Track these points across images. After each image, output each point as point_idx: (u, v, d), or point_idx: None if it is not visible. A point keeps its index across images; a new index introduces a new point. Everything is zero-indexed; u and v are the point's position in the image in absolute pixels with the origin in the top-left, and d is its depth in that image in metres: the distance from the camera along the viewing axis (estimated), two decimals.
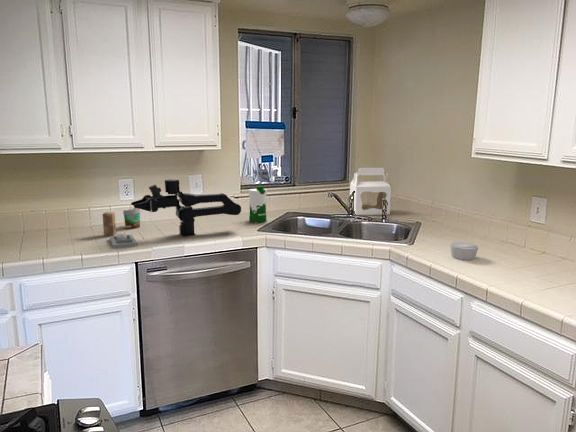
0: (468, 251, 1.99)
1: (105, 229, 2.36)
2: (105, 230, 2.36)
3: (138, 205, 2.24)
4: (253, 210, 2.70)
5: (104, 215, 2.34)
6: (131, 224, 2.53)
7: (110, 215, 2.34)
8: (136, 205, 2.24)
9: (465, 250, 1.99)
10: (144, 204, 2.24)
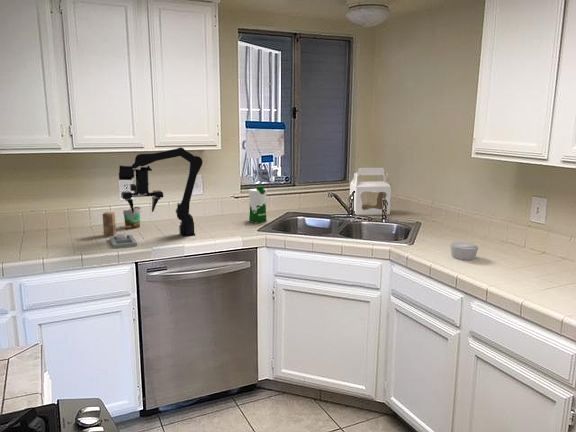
0: (468, 251, 1.99)
1: (105, 229, 2.36)
2: (105, 230, 2.36)
3: (131, 208, 2.32)
4: (253, 210, 2.70)
5: (104, 215, 2.34)
6: (131, 224, 2.53)
7: (110, 215, 2.34)
8: None
9: (465, 250, 1.99)
10: (129, 203, 2.31)
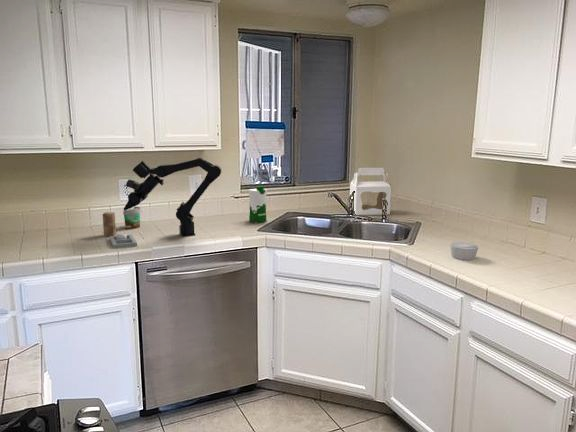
0: (468, 251, 1.99)
1: (105, 229, 2.36)
2: (105, 230, 2.36)
3: (126, 206, 2.31)
4: (253, 210, 2.70)
5: (104, 215, 2.34)
6: (131, 224, 2.53)
7: (110, 215, 2.34)
8: (125, 208, 2.31)
9: (465, 250, 1.99)
10: (129, 202, 2.30)
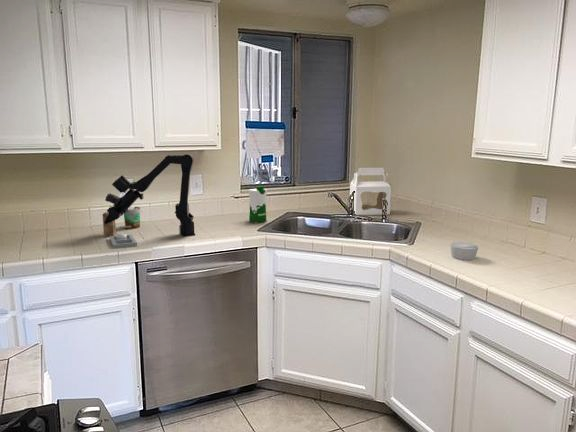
0: (468, 251, 1.99)
1: (105, 229, 2.36)
2: (105, 230, 2.36)
3: (106, 220, 2.34)
4: (253, 210, 2.70)
5: (104, 215, 2.34)
6: (131, 224, 2.53)
7: None
8: (105, 221, 2.34)
9: (465, 250, 1.99)
10: (110, 216, 2.33)
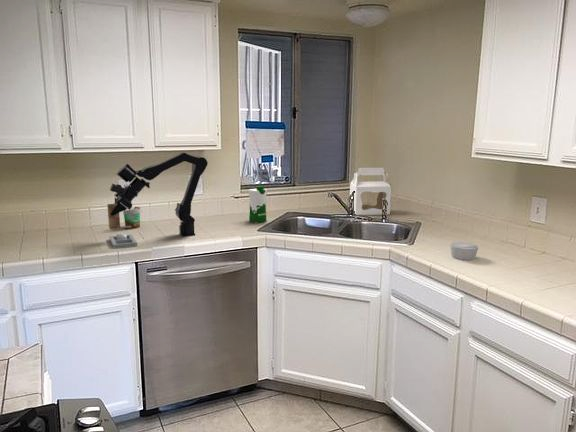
0: (468, 251, 1.99)
1: (111, 221, 2.23)
2: (111, 222, 2.23)
3: (114, 211, 2.22)
4: (253, 210, 2.70)
5: (110, 206, 2.22)
6: (131, 224, 2.53)
7: None
8: (112, 213, 2.22)
9: (465, 250, 1.99)
10: (117, 207, 2.22)
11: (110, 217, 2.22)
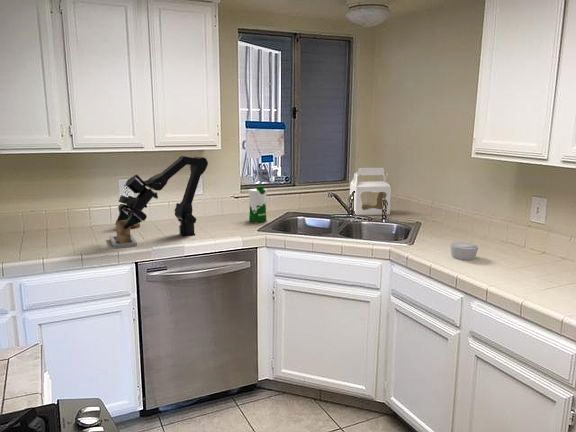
0: (468, 251, 1.99)
1: (122, 238, 2.17)
2: (122, 240, 2.17)
3: (127, 225, 2.15)
4: (253, 210, 2.70)
5: (121, 223, 2.16)
6: None
7: None
8: (126, 226, 2.15)
9: (465, 250, 1.99)
10: (131, 220, 2.15)
11: (121, 234, 2.17)
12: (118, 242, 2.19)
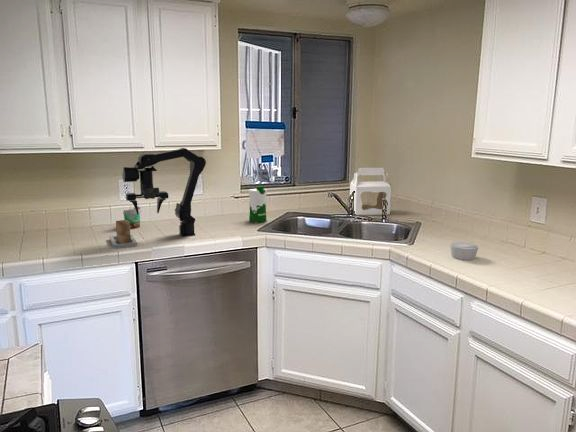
0: (468, 251, 1.99)
1: (122, 238, 2.17)
2: (122, 240, 2.17)
3: None
4: (253, 210, 2.70)
5: (121, 223, 2.16)
6: (131, 224, 2.53)
7: (127, 223, 2.18)
8: None
9: (465, 250, 1.99)
10: None
11: (121, 234, 2.17)
12: (118, 242, 2.19)
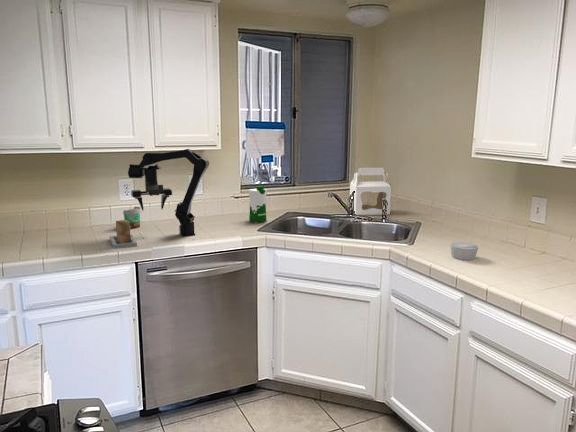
0: (468, 251, 1.99)
1: (122, 238, 2.17)
2: (122, 240, 2.17)
3: None
4: (253, 210, 2.70)
5: (121, 223, 2.16)
6: (131, 224, 2.53)
7: (127, 222, 2.18)
8: None
9: (465, 250, 1.99)
10: None
11: (121, 234, 2.17)
12: (118, 242, 2.19)
